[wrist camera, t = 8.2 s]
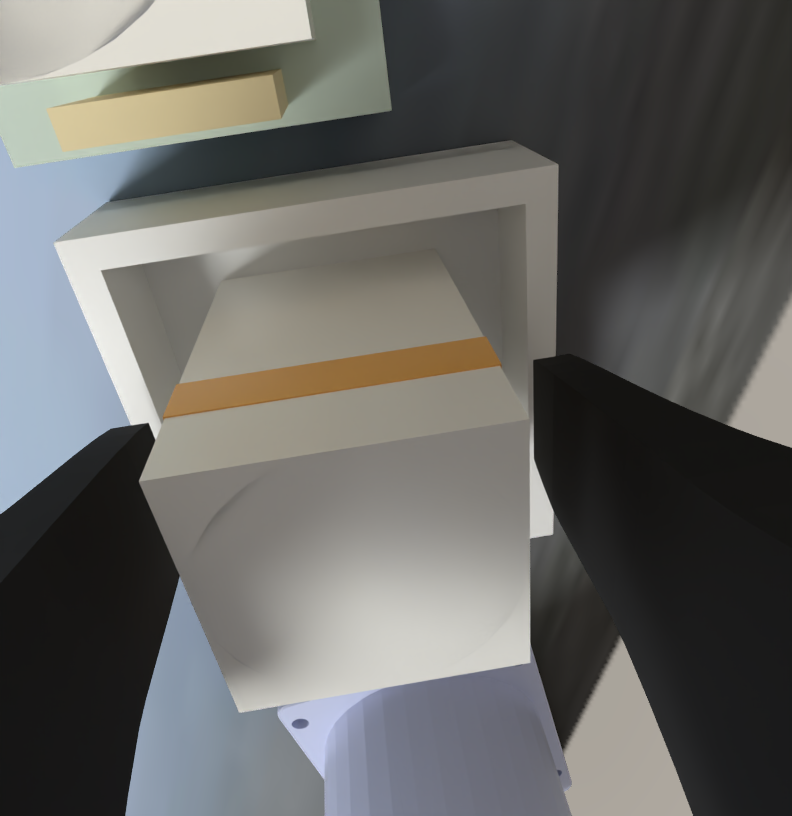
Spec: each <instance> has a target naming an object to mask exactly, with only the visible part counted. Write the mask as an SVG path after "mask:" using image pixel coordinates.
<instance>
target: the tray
mask: <svg viewBox="0 0 792 816" xmlns="http://www.w3.org/2000/svg"><path fill="white" fill-rule="evenodd" d="M558 168H559V164H557V163H555V162H553V161H551V160H549V159H547V158H545V157H543V156H541V155H540V154H538V153H536V152H534V151H532V150H530V149H528V148H526V147H524V146H522V145H520V144H518V143H516V142H514V141H513V140H508V141H502V142H495V143H489V144H482V145H476V146H469V147H463V148H456V149H450V150H443V151H437V152H430V153H424V154H417V155H411V156H404V157H398V158H391V159H385V160H378V161H372V162H365V163H359V164H352V165H346V166H339V167H333V168H326V169H320V170H313V171H307V172H300V173H294V174H287V175H281V176H274V177H268V178H261V179H255V180H248V181H242V182H235V183H229V184H222V185H216V186H209V187H203V188H196V189H190V190H183V191H177V192H170V193H164V194H157V195H151V196H144V197H137V198H131V199H124V200H118V201H111V202H106V203H105V204H104V205H102V206H101V207H100V208H98V209H97V210H96V211H94V212H93V213H92V214H90V215H89V216H88V217H87V218H85V219H84V220H83V221H81V222H80V223H79V224H77V225H76V226H75V227H73V228H72V229H71V230H69V231H68V232H67V233H65V234H64V235H63V236H61V237H60V238H59V239H57V240H56V241H55V242H54V246H55V248H56V250H57V253H58V255H59V257H60V260H61V262H62V264H63V267H64V269H65V271H66V274H67V276H68V278H69V281H70V283H71V285H72V288H73V290H74V292H75V295H76V297H77V299H78V302H79V304H80V306H81V309H82V311H83V313H84V316H85V318H86V321H87V323H88V325H89V328H90V330H91V332H92V335H93V337H94V339H95V342H96V344H97V346H98V349H99V351H100V353H101V356H102V358H103V360H104V363H105V365H106V367H107V370H108V372H109V374H110V377H111V379H112V381H113V384H114V386H115V388H116V391H117V393H118V395H119V398H120V400H121V402H122V405H123V407H124V409H125V412H126V414H127V416H128V419H129V421H130V424H131V425H137V424H143V423H149V425H150V428H151V430H152V432H153V435H154V437H155V440H156V438H157V436H158V433H159V431H160V429H161V426H162V424H163V421H164V420H163V415H164V412H165V410H166V407H167V405H168V403H169V400H170V398H171V396H172V393H173V391H174V388H175V386H176V384H179V382H180V380H181V377H182V375H183V373H184V370H185V368H186V365H187V363H188V360H189V358H190V356H191V353H192V351H193V348H194V346H195V343H196V341H197V338H198V336H199V334H200V331H201V329H202V326H203V324H204V321H205V319H206V317H207V314H208V312H209V309H210V307H211V304H212V302H213V300H214V297H215V295H216V292H217V290H218V287H219V285H220V283H221V281H223V280H229V279H236V278H243V277H249V276H256V275H262V274H269V273H276V272H282V271H289V270H296V269H302V268H309V267H316V266H322V265H329V264H335V263H342V262H349V261H355V260H362V259H369V258H375V257H382V256H389V255H395V254H402V253H408V252H415V251H422V250H428V249H436V251H437V253H438V255H439V257H440V258H441V260H442V262H443V264H444V266H445V267H446V269H447V271H448V273H449V275H450V276H451V278H452V280H453V282H454V284H455V285H456V287H457V289H458V291H459V293H460V295H461V296H462V298H463V300H464V302H465V304H466V305H467V307H468V309H469V311H470V313H471V314H472V316H473V318H474V320H475V322H476V323H477V325H478V327H479V329H480V331H481V332H482V334H483V336H486V337H487V339H488V341H489V343H490V344H491V346H492V348H493V350H494V351H495V353H496V355H497V357H498V359H499V360H500V362H501V364H502V370H503V372H504V374H505V376H506V378H507V379H508V381H509V383H510V385H511V387H512V388H513V390H514V392H515V394H516V396H517V397H518V399H519V401H520V403H521V405H522V406H523V408H524V410H525V412H526V414H527V415H528V417H529V419H530V538H535V537H541V536H547V535H553V509H552V506H551V504H550V501H549V499H548V496H547V494H546V491H545V489H544V486H543V483H542V480H541V478H540V475H539V472H538V469H537V467H536V464H535V461H534V414H533V360H535V359H542V358H548V357H554V356H556V303H557V235H558Z"/></svg>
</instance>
